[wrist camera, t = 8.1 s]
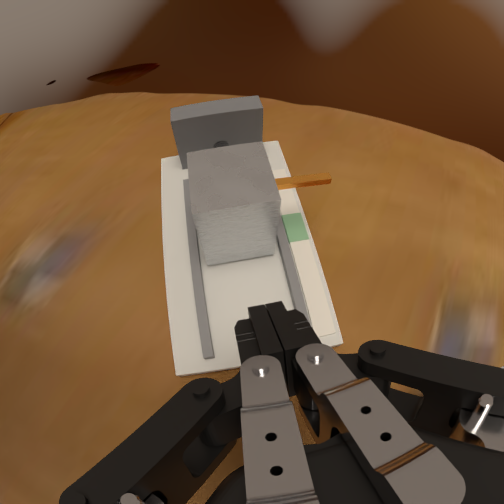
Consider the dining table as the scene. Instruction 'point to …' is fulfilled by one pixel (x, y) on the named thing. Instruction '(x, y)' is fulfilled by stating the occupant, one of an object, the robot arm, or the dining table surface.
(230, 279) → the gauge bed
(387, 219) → the dining table surface
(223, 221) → the gauge carriage
